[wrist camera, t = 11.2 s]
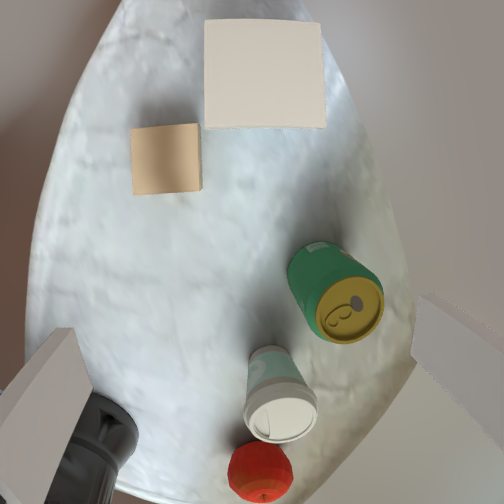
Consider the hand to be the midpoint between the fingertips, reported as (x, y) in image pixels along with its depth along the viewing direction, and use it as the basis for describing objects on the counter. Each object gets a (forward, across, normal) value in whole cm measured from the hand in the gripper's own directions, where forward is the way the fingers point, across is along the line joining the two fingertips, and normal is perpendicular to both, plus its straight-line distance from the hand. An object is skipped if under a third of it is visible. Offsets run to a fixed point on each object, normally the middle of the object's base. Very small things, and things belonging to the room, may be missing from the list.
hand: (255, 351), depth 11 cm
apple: (+28, +2, -38) cm, 48 cm away
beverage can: (+27, +11, -6) cm, 30 cm away
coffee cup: (+28, +4, -19) cm, 34 cm away
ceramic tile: (+21, +4, +16) cm, 26 cm away
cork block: (+27, -6, +8) cm, 29 cm away
